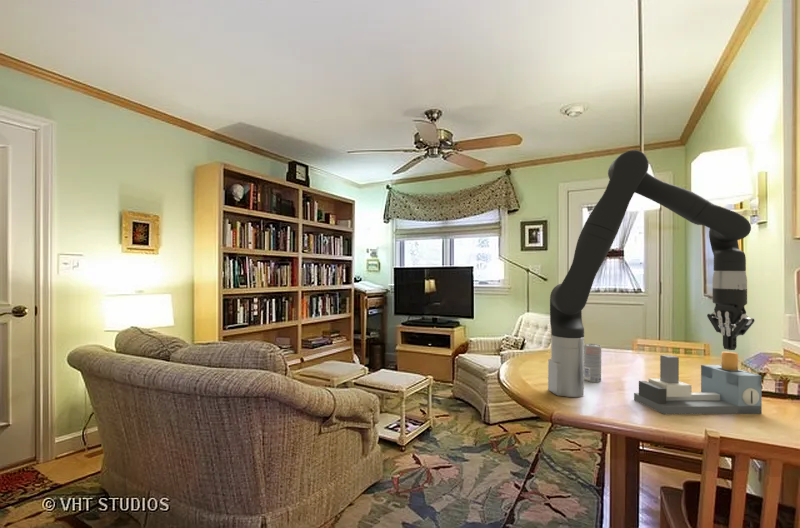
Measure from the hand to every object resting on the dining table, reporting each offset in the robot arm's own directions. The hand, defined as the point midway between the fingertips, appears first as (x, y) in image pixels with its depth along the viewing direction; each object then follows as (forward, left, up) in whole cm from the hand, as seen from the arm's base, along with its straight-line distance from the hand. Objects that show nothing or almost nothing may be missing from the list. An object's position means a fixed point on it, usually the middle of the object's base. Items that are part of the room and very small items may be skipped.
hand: (729, 349), depth 112 cm
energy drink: (-24, +27, -16) cm, 40 cm away
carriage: (-18, 0, -12) cm, 21 cm away
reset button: (0, 0, -6) cm, 6 cm away
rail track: (-10, 0, -16) cm, 19 cm away
